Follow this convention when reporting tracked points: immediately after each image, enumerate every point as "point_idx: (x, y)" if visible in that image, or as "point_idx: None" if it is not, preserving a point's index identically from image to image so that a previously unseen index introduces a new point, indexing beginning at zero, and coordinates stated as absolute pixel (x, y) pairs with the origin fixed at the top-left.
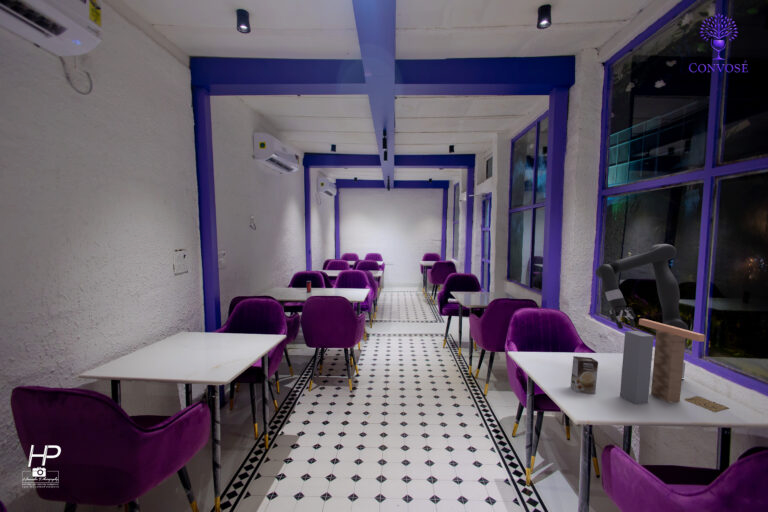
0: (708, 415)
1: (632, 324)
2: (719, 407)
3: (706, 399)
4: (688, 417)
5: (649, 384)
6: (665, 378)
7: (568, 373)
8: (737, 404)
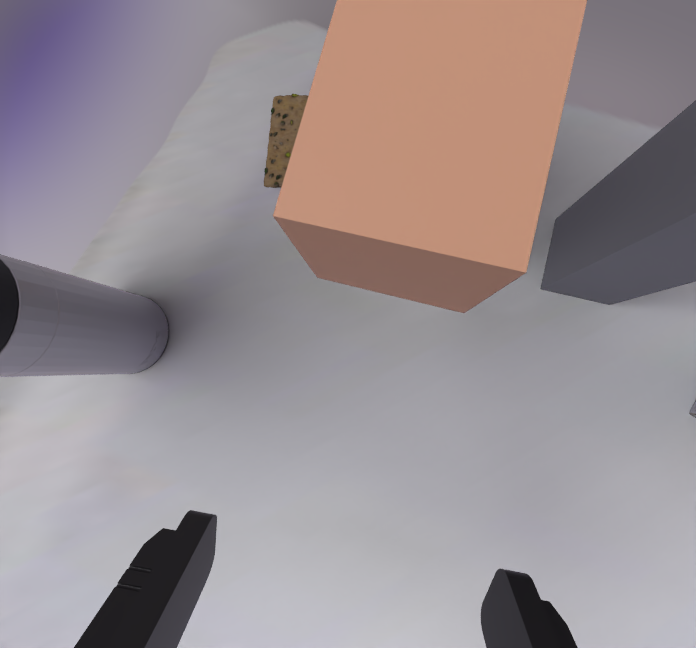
0: None
1: (197, 569)
2: None
3: (270, 157)
4: None
5: (609, 174)
6: None
7: (623, 587)
8: (204, 103)
